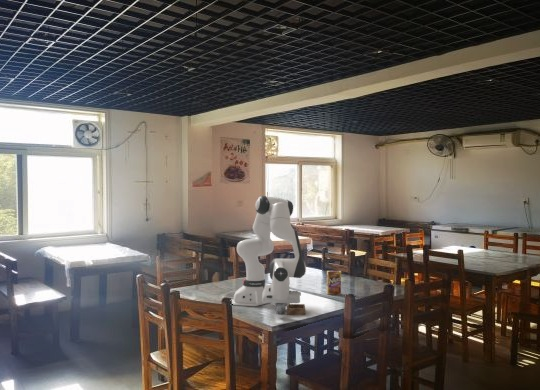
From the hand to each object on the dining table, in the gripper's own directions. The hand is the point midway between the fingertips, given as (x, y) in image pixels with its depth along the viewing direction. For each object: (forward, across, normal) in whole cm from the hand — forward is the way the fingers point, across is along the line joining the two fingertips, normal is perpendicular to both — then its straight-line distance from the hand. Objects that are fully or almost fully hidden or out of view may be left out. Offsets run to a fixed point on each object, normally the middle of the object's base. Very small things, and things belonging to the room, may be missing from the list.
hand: (281, 305), depth 252 cm
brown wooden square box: (+12, -8, -2) cm, 15 cm away
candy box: (+45, -34, -36) cm, 67 cm away
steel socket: (+3, 0, +4) cm, 4 cm away
